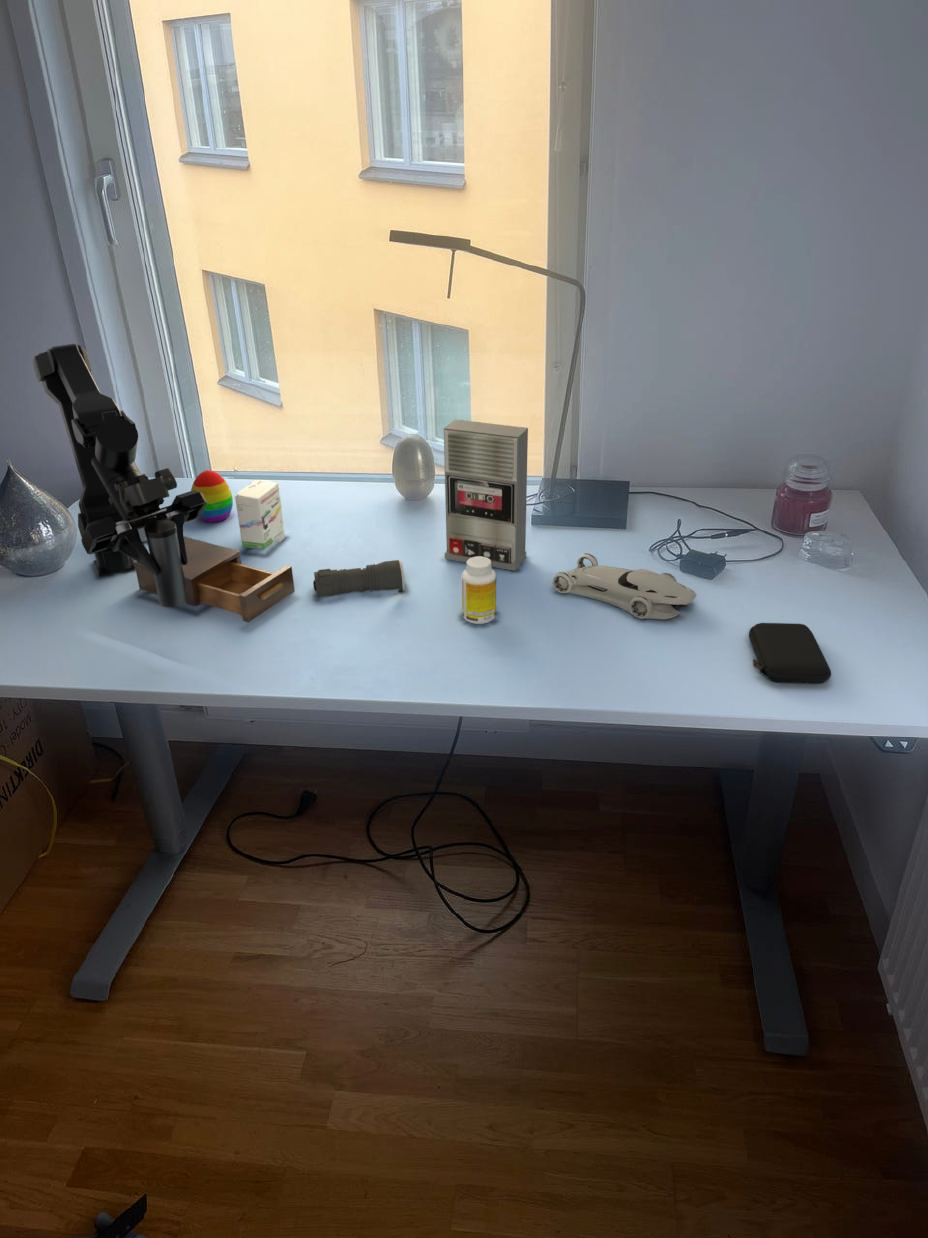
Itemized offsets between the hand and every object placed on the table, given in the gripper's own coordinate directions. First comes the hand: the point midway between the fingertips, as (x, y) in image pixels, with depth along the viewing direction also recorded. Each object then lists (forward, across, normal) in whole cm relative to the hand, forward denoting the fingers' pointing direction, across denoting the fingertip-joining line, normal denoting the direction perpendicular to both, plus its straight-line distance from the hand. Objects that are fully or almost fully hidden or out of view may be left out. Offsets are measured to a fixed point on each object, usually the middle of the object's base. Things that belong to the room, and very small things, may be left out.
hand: (171, 569), depth 141 cm
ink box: (-5, +29, +25) cm, 39 cm away
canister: (+3, 0, +5) cm, 6 cm away
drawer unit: (-1, +10, +20) cm, 23 cm away
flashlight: (+15, +30, +5) cm, 34 cm away
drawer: (+6, +13, +12) cm, 19 cm away
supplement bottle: (+29, +39, -10) cm, 49 cm away
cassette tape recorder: (+19, +54, 0) cm, 57 cm away
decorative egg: (-18, +29, +38) cm, 52 cm away
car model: (+38, +61, -19) cm, 74 cm away
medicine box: (-21, +14, +41) cm, 48 cm away
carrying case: (+58, +61, -40) cm, 94 cm away
